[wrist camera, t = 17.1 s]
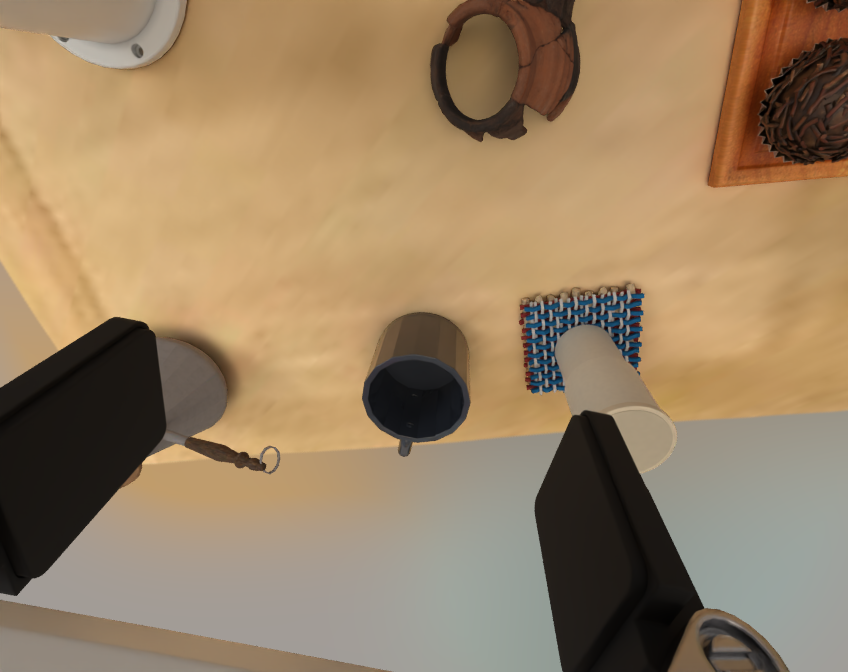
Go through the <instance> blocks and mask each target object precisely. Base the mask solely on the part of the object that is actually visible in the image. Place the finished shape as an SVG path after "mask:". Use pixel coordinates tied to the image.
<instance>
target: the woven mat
mask: <svg viewBox="0 0 848 672" xmlns="http://www.w3.org/2000/svg"><path fill="white" fill-rule="evenodd" d="M626 288H627V289H625V290H623V291H621V292H618V287H611V288H610V292H607V290H606V287H604V288H601V289H600V290H599V292H598V296H595V294H593V291H587V292H585V297H583V295H580V289H577V288H573V289H572V298H570V297H568V293H565V292H564V293H561V294H560V298H555V299H554V296H553V295H549V296H547V302H543V300H542V297H541V296H536V299H535V302H534V303H532V302H530V303H529V298H524V299H522V305H520V310H523V313H521V318H524V319H522V320H520V321H519V324H520V325H523V324H524V329H522V333H525V336H521V339H522V340H525V343H523V347H524V348H526V351H524V355H527V357H526V358H524V359H525V362H526V363H524V367H528V372H526V376H528V378H525V381H527V382H529V385H527V390H529V389H530V390H531V392H532V393H538V392H539V391H540V395H542V391H543V392H546V393H549V392H550V391H552V390H553V392H554V393H555V392H556V390H559V391H561V390H563V393H565V382H564V380H563V377H562V374H561V371H560V368H559V366H558V363H557V360H556V357H555V347H556V344H557V342H558V340H559V338H560V337H561V336H562V335H563V334H564V333H565V332H566V331H568V330H569V329H571V328H573V327H576V326H580V325H594V326H598V327H600V328H602V329H604V330H605V331H606V332H607V333H608V334H609V335H610V337H611V338H612V340H613V342H614V343H615V345H616V346H617V348H618V350H619V351H620V353H621V355H622V356H623V358H624V359H625V361H626V362H628V363H630V364H631V365H632V366H633V367H634V368H635V370H637V367H638V363H637V362H640V361H641V358H640V357H638V353H639V347H641V346H642V343H641V342H638V337H640V332H639V331H642V327H641V326H639V324H640V323H638V322H641V317H640V315H643V311H642V310H641V307H636V306H640V305H641V304H642V300H641V298H644V294H643V293H641V289H635V285H634V284H629V285H626ZM607 293H608V294H607ZM634 298H635V299H634ZM558 307H560V308H559V309H558ZM595 307H596V308H595ZM544 309H547V310H544ZM622 312H623V313H622ZM596 319H597V320H596ZM636 322H637V323H636ZM619 324H620V325H619ZM537 367H538V368H537ZM637 373H638V374H639V376H640V372H639V371H637ZM537 381H538V382H537ZM548 385H549V387H548Z"/></svg>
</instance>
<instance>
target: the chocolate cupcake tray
mask: <svg viewBox="0 0 848 672" xmlns="http://www.w3.org/2000/svg"><path fill="white" fill-rule="evenodd" d="M841 176H848V0H742V6H741V11H740V16H739V22H738V27H737V32H736V38H735V43H734V48H733V54H732V59H731V64H730V70H729V75H728V80H727V86H726V91H725V96H724V102H723V107H722V112H721V118H720V123H719V128H718V134H717V139H716V144H715V150H714V155H713V160H712V166H711V171H710V176H709V182H708V185H709V186H711V187H714V188H715V187H726V186H738V185H749V184H761V183H772V182H784V181H795V180H807V179H818V178H829V177H841Z"/></svg>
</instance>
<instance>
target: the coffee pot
mask: <svg viewBox="0 0 848 672" xmlns="http://www.w3.org/2000/svg"><path fill="white" fill-rule="evenodd" d="M156 343H157V351H158V359H159V367H160V375H161V383H162V391H163V399H164V407H165V415H166V423H167V427H166V432H165V435H164V437H163V439H162V440H161V442H160V443H159V444H158V445H157V446H156V447H155V448H154V450H153V451H152V452H151V453H150V454H149V455H148V456H150V455H153V454H155V453H157V452H159V451H161V450H163V449H165V448H167V447H170V446H172V445H174V444H180V445H183V446H185V447H187V448H189V449H191V450H193V451H196V452H198V453H200V454H203V455H205V456H207V457H209V458H212V459H214V460H216V461H221V462H229V463H234V464H235V466H236V467H237V468H243V467H245V466H246V467H248V468H249V469H251V470H255V471H263V472H265V473H268V474H271V473H273V472H275V471H276V469H277V468H278V466H279V461H280V453H279V451H278V450H277V448H275V447H272V446H268V447H266V448H265V449H264V450H263V451H262V453H261V455H260V460H259V459H257V458H249V455H248V453H246V452H240V453H237V452H236V451H234V450H232V449H230V448H229V447H227V446H225V445H222V444H217V443H213V442H209V441H205V440H201V439H196V438H192V437H191V436H193V435H195V434H197V433H199V432H202V431H204V430H206V429H208V428H210V427H212V426H213V425H214V424H215V423H216V422H218V421H219V420H220V419H221V417H222V415H223V413H224V411H225V409H226V406H227V386H226V382H225V378H224V377H223V375H222V373H221V371H220V369H219V368H218V366H217V365H216V364H215V363H214V361H213V360H212V359H211V358H210V357H209V356H208V355H207V354H205V353H204V352H203V351H201V350H200V349H198V348H196V347H194V346H192V345H190V344H188V343H186V342H184V341H180V340H177V339H173V338H164V337H156ZM271 447H272V448H274V449H275V450H276V452H277V457H278V460H277V464H276V466H275V468H274V469H273V470H272V471H270V472H266V471H265V468H266V464H265V463H263V462H262V457H263V454H264V453H265V451H266V450H267V449H269V448H271ZM148 456H147V457H148ZM141 469H142V463H141V464H140V466H139V467H138V468H137V469H136V470H135V471H134V472H133V474H132V475H131V476H130V477H129V478H128V479H127V480H126V481H125V483H124V484H123V485H122V486H121V487H120V488H122V487H124V486H126V485H128V484H130V483H131V482H133V481H134V480H135V479H136V478H137V477H138V476H139V475H140V472H141Z"/></svg>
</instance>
